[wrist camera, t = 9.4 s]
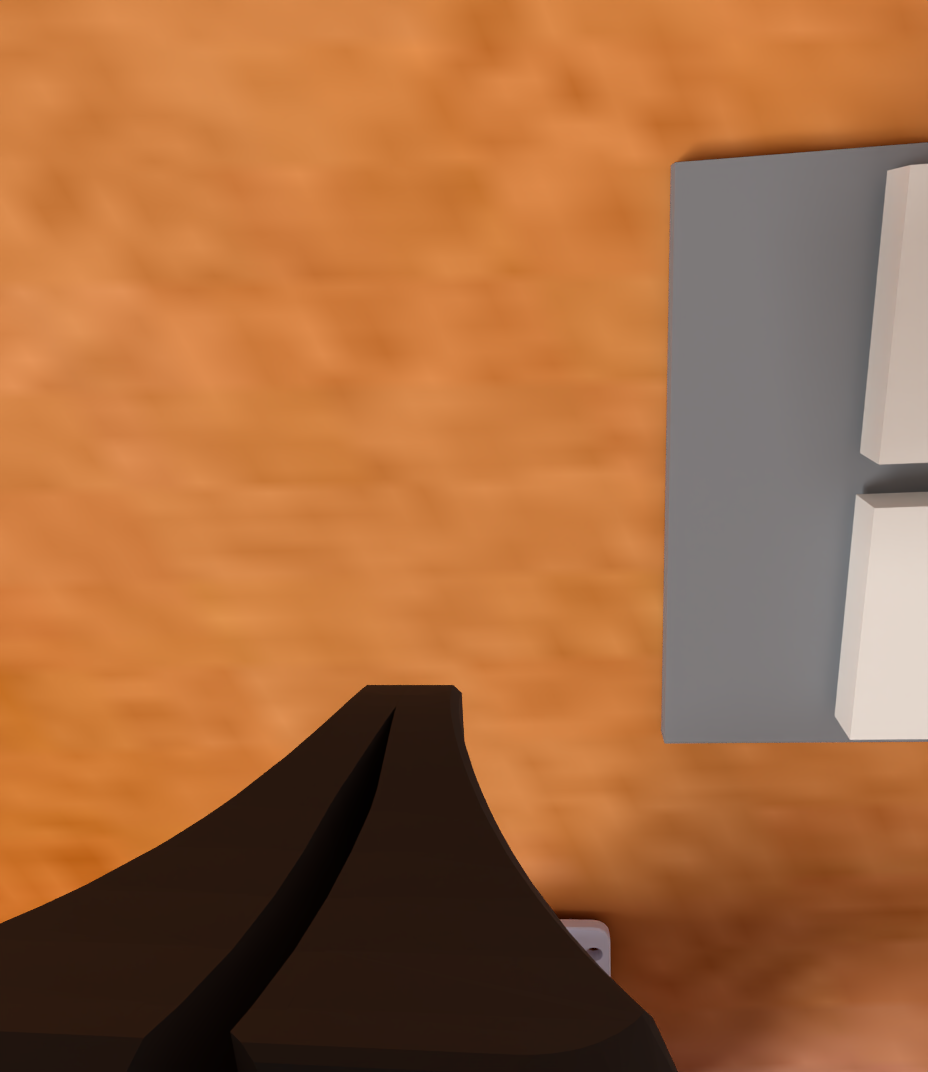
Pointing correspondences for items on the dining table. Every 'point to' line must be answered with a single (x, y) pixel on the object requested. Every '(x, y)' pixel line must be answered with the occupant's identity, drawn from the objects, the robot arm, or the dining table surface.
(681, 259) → the mat
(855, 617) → the tile
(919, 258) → the tile
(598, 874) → the dining table surface
